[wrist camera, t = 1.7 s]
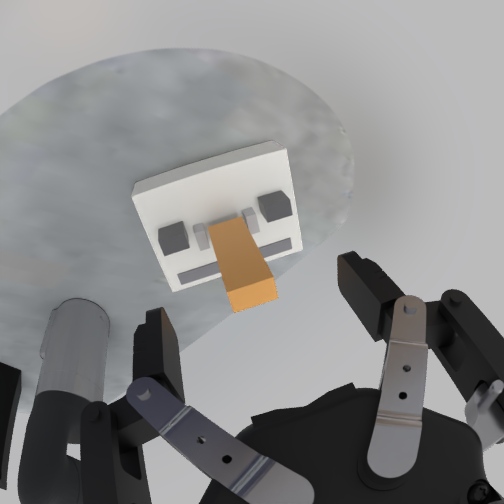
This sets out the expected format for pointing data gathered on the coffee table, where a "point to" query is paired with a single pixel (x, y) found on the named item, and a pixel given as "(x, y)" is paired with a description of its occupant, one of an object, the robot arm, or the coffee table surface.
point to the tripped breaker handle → (241, 265)
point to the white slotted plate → (218, 209)
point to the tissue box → (7, 414)
